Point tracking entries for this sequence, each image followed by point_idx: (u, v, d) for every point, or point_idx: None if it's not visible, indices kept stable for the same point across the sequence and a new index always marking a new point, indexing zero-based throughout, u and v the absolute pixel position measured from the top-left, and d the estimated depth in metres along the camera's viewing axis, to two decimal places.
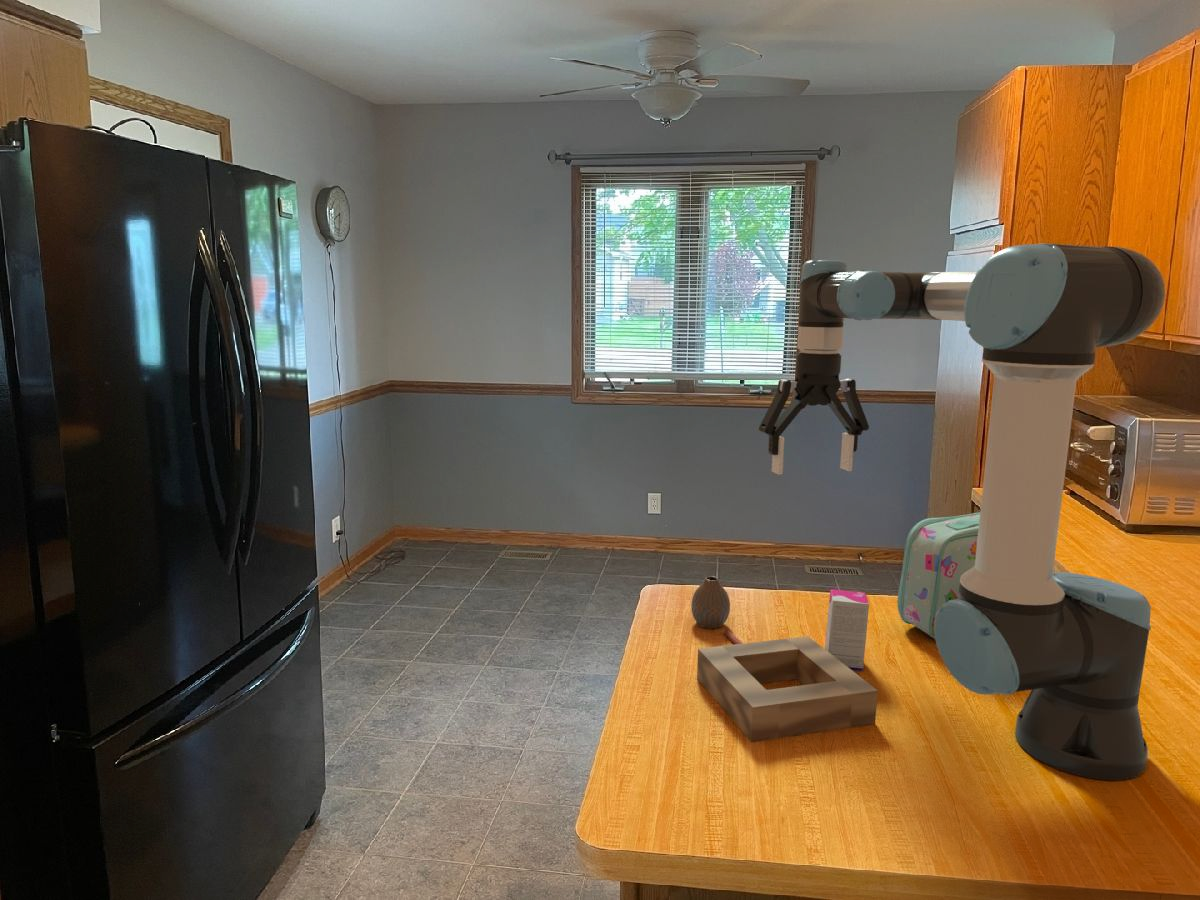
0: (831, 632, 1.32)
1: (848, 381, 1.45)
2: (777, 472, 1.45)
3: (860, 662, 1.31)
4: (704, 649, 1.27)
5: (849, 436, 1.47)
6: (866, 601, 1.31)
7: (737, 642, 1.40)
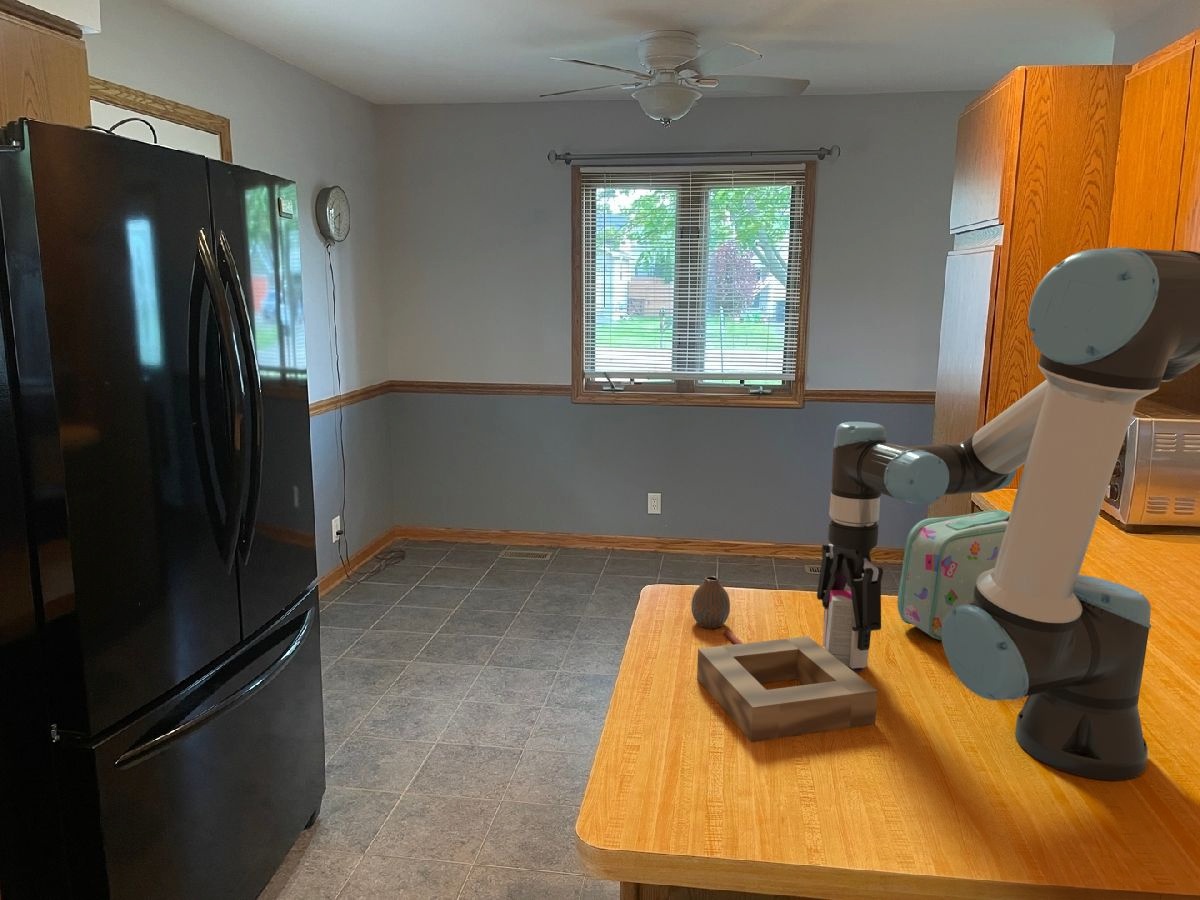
0: (831, 632, 1.32)
1: None
2: (824, 643, 1.39)
3: None
4: (704, 649, 1.27)
5: None
6: None
7: (737, 642, 1.40)
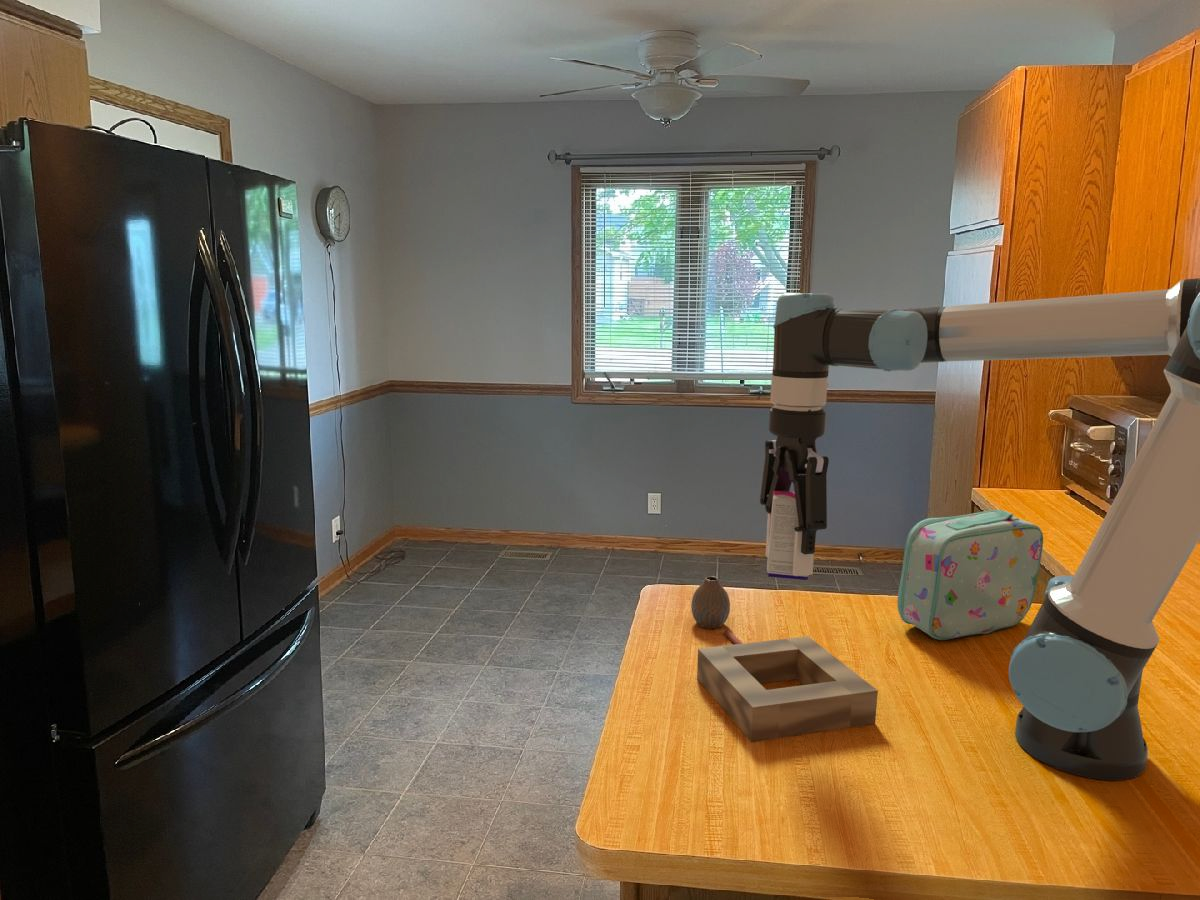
0: (772, 535, 1.15)
1: None
2: None
3: None
4: (704, 649, 1.27)
5: None
6: None
7: (737, 642, 1.40)
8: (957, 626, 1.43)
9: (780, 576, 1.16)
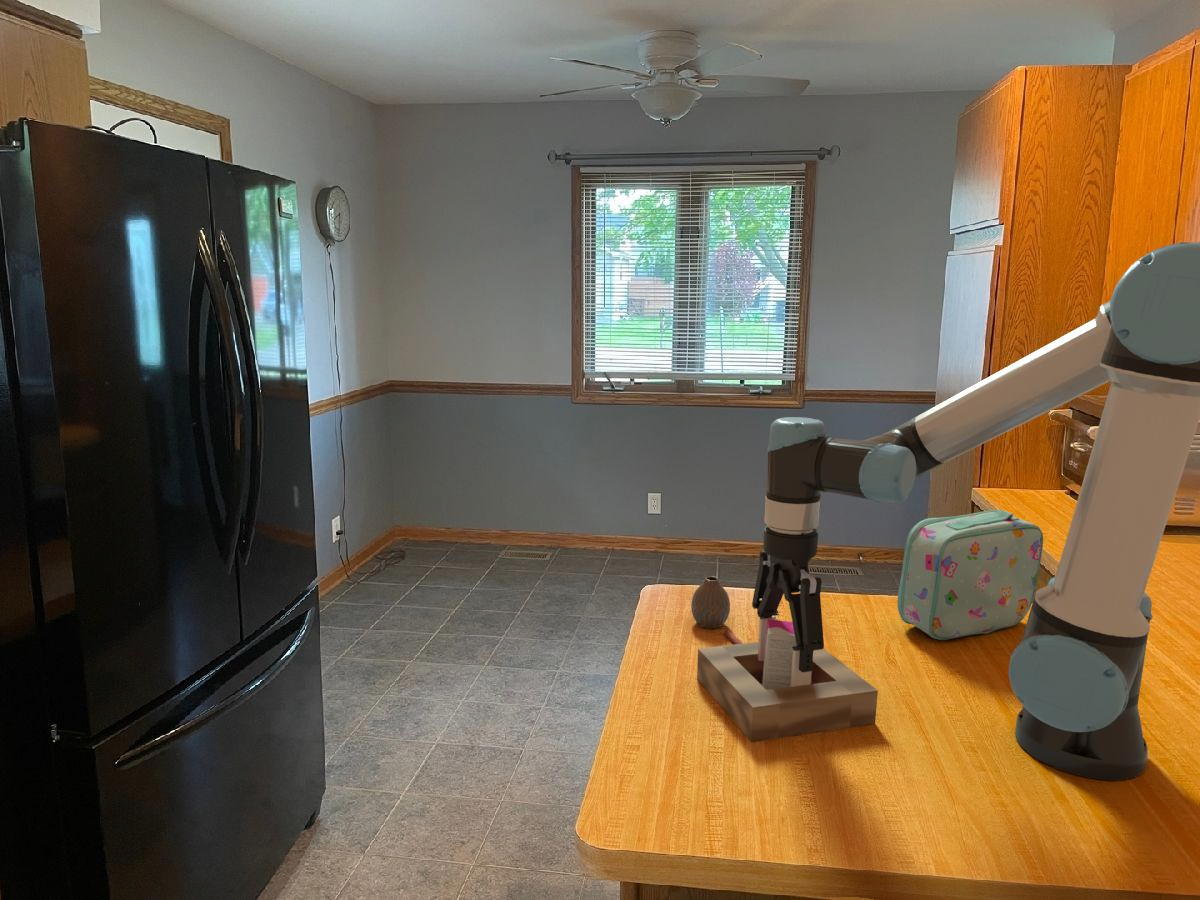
0: (767, 668, 1.19)
1: None
2: None
3: None
4: (704, 649, 1.27)
5: None
6: None
7: (737, 642, 1.40)
8: (957, 626, 1.43)
9: None
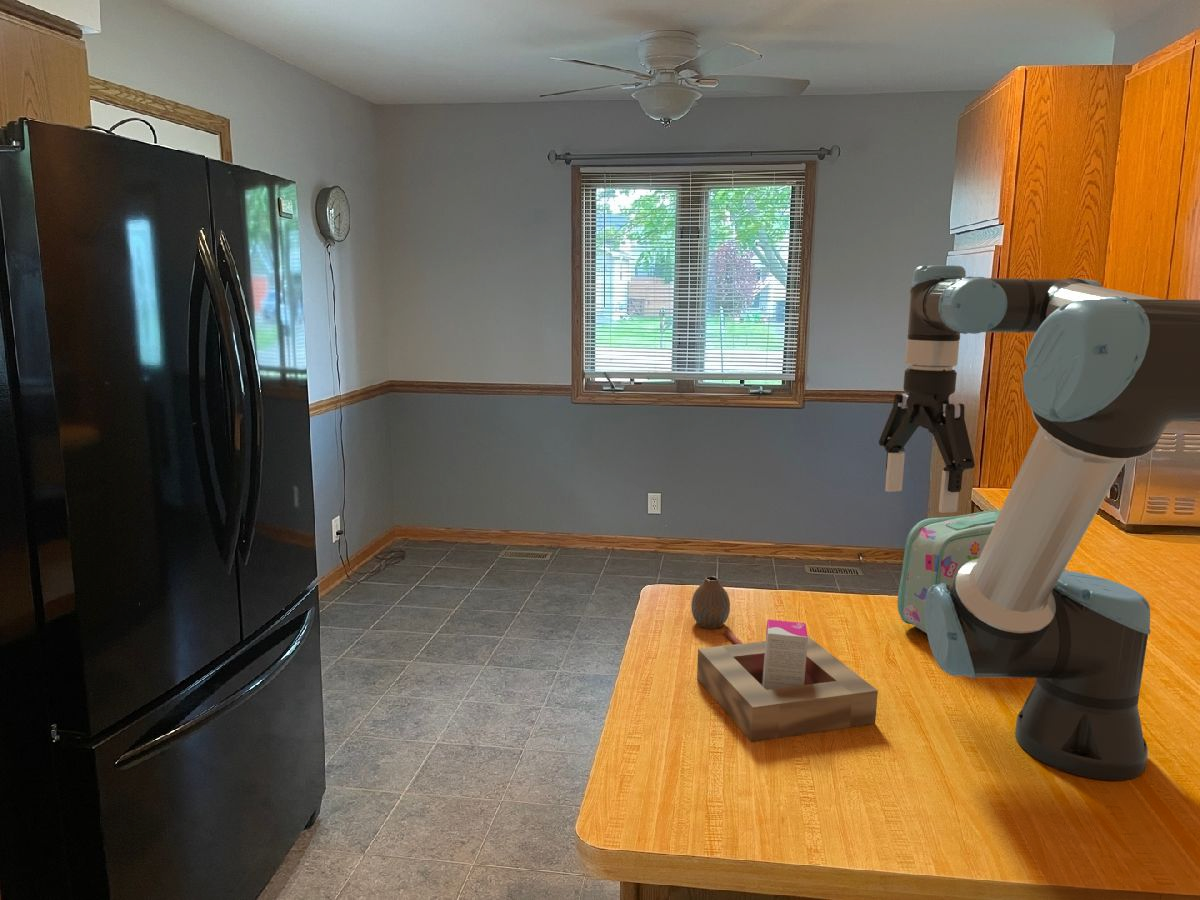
0: (767, 668, 1.19)
1: None
2: None
3: None
4: (704, 649, 1.27)
5: (944, 471, 1.24)
6: (805, 634, 1.18)
7: (737, 642, 1.40)
8: None
9: None
